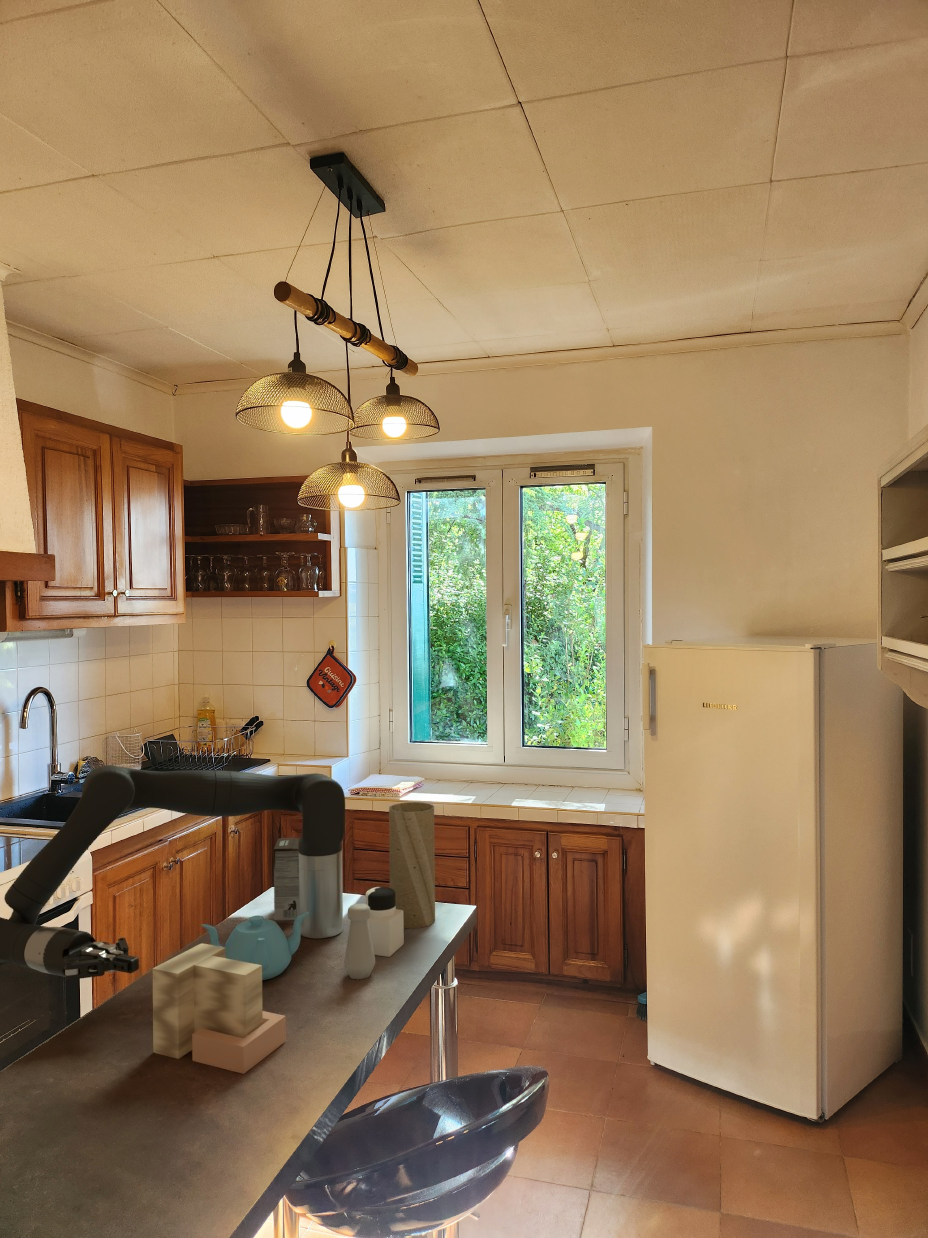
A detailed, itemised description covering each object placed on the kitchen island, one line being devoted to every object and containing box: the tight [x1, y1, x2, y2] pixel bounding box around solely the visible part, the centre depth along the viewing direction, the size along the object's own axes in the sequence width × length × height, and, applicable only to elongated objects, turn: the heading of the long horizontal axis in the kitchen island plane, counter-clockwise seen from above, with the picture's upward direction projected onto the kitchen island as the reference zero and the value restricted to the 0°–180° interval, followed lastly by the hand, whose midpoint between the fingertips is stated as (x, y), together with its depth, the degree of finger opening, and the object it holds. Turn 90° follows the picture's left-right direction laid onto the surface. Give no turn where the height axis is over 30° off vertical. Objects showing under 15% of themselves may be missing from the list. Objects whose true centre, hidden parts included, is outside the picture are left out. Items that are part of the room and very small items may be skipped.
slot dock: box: [191, 1010, 287, 1074], centre depth 131 cm, size 10×10×4 cm
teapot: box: [200, 912, 309, 981], centre depth 161 cm, size 15×15×10 cm
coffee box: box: [273, 837, 300, 921], centre depth 192 cm, size 9×6×16 cm
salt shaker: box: [344, 903, 376, 980], centre depth 158 cm, size 6×6×13 cm
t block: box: [152, 943, 263, 1060], centre depth 133 cm, size 15×11×13 cm
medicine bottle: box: [365, 886, 405, 958], centre depth 171 cm, size 7×7×12 cm
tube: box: [388, 801, 436, 929], centre depth 187 cm, size 10×10×25 cm
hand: (135, 965), depth 140 cm, fingers closed
